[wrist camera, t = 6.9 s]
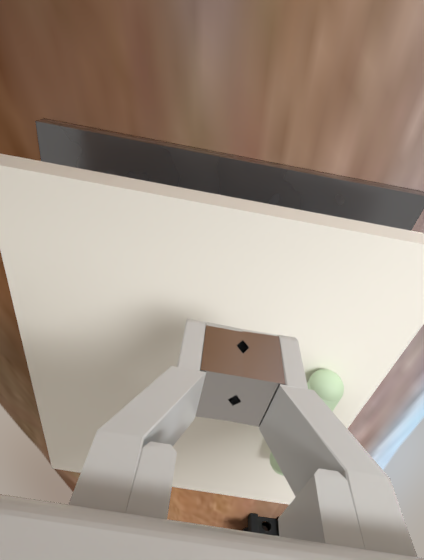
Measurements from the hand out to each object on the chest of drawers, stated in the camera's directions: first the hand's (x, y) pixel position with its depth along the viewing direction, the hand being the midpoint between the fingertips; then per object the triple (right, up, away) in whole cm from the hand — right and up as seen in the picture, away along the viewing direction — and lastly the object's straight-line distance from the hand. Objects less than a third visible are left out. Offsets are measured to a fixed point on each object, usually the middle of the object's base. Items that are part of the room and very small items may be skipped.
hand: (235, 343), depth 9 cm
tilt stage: (-2, -4, +9) cm, 10 cm away
